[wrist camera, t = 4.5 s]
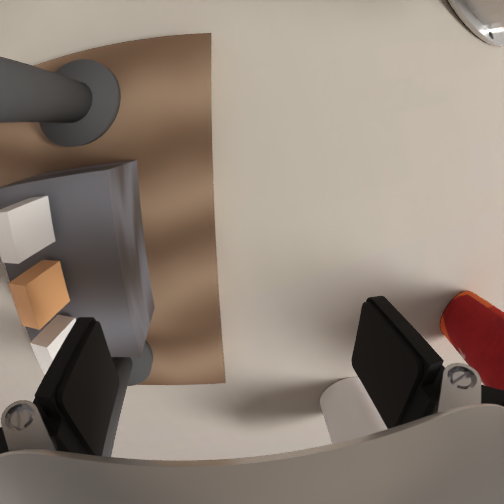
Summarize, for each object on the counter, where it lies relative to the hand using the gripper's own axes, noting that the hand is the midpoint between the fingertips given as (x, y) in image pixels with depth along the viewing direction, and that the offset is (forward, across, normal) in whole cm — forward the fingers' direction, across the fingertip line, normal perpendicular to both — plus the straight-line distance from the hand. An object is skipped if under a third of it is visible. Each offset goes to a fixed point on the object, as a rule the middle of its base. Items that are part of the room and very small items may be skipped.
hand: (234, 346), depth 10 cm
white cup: (+14, -12, +20) cm, 27 cm away
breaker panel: (+14, +9, 0) cm, 16 cm away
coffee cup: (+14, -26, +11) cm, 32 cm away
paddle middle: (+6, +10, 0) cm, 11 cm away
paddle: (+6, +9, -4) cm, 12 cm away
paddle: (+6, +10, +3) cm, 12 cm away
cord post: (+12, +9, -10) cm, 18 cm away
